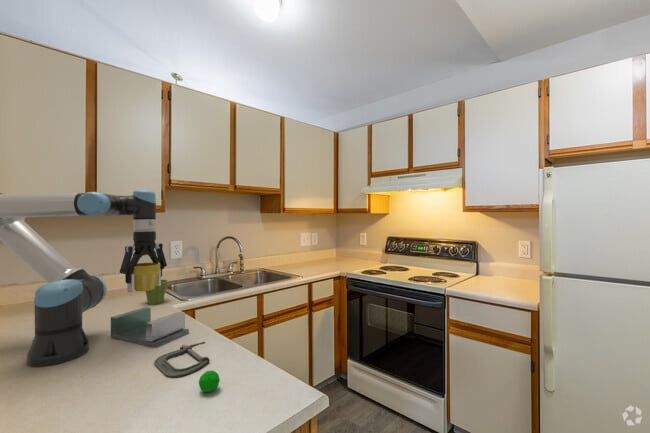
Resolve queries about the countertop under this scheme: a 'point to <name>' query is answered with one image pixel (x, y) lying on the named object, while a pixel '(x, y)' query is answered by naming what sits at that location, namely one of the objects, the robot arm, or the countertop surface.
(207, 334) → the countertop surface
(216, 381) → the polyhedron
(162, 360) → the c clamp
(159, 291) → the plant pot
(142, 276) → the plant pot
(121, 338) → the vise base
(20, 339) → the countertop surface
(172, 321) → the steel jaw
